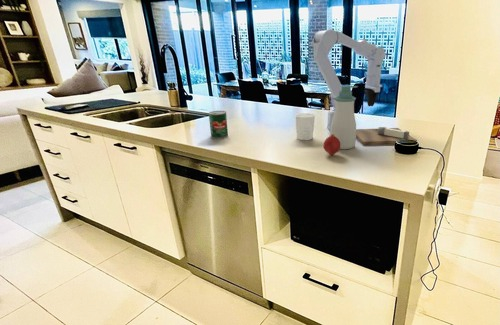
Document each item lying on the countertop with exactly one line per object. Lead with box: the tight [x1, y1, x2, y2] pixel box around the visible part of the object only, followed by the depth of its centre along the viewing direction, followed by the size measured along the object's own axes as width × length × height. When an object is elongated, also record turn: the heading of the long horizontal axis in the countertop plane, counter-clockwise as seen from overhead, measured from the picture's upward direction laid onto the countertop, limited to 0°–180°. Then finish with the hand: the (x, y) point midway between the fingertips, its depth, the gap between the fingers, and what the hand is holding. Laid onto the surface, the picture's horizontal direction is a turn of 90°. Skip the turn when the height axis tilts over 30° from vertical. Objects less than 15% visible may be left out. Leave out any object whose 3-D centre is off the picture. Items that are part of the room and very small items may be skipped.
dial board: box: [356, 127, 418, 146], centre depth 123 cm, size 20×18×2 cm
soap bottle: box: [328, 84, 358, 150], centre depth 112 cm, size 10×10×23 cm
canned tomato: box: [208, 110, 229, 139], centre depth 135 cm, size 8×8×11 cm
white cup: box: [295, 112, 316, 141], centre depth 126 cm, size 8×8×10 cm
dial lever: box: [377, 126, 410, 139], centre depth 119 cm, size 12×3×3 cm, turn 41°
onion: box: [323, 134, 341, 156], centre depth 106 cm, size 6×6×8 cm
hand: (370, 105), depth 138 cm, fingers closed
